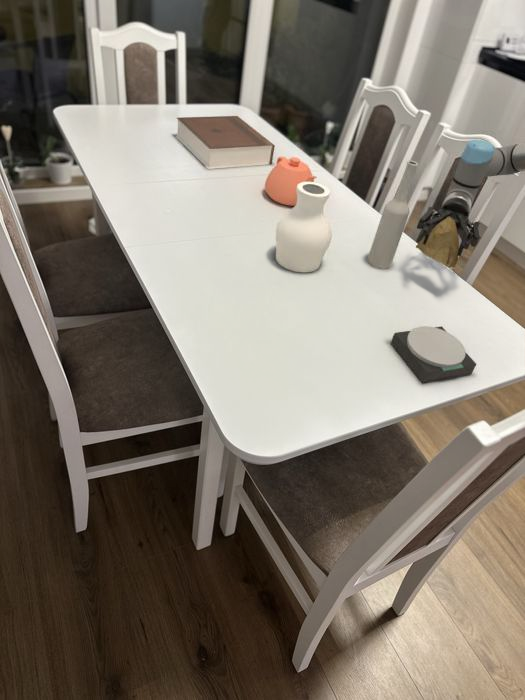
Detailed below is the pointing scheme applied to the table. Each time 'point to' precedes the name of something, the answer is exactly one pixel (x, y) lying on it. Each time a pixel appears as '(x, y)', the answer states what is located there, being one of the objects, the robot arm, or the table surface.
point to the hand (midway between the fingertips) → (443, 245)
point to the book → (224, 141)
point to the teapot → (287, 180)
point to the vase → (304, 230)
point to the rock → (442, 243)
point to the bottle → (392, 223)
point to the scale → (433, 353)
